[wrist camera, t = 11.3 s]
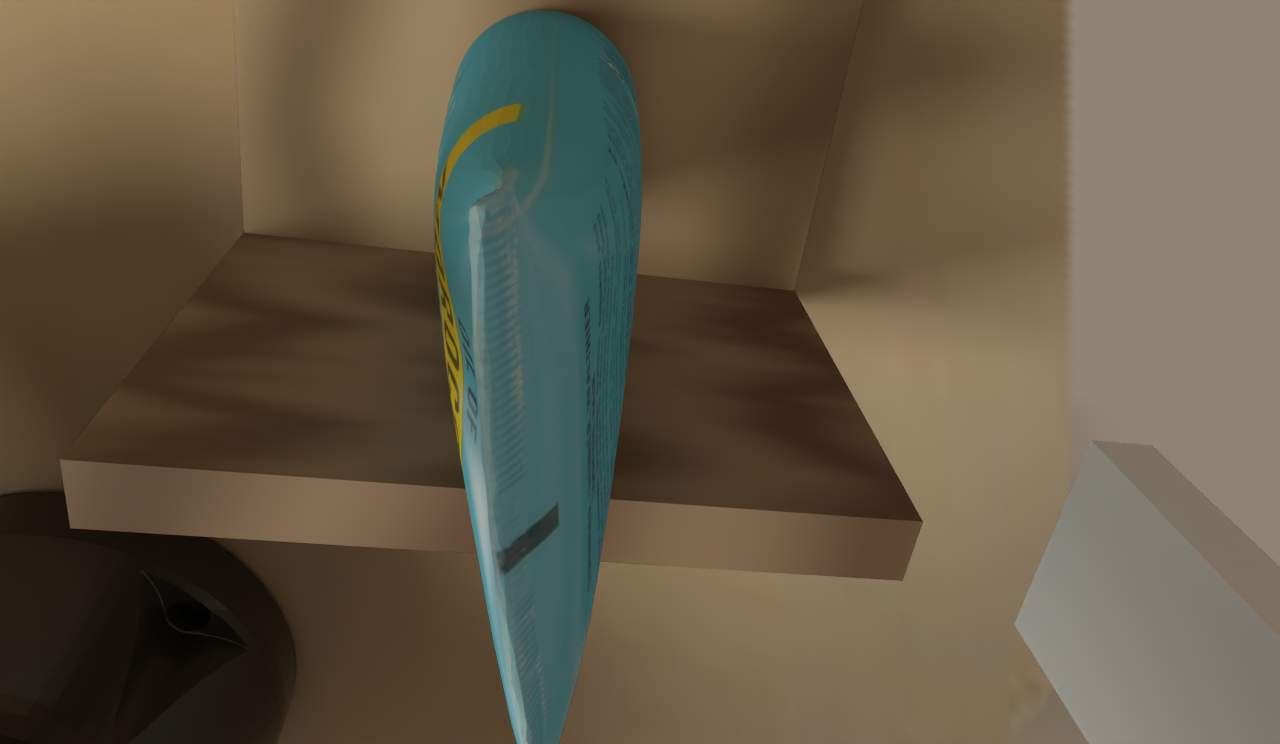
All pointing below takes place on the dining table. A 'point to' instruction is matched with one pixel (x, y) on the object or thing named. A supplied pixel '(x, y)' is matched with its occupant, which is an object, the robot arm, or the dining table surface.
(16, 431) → the dining table surface
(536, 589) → the tube
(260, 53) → the brown piece
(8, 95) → the dining table surface
